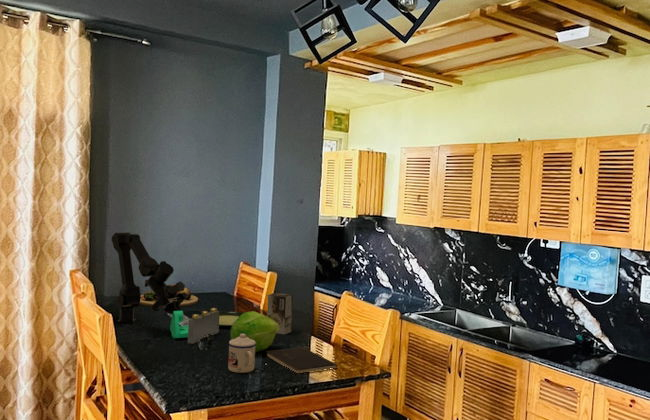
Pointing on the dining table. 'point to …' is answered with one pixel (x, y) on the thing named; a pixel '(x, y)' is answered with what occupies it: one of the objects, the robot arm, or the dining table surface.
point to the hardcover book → (300, 360)
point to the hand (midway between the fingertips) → (182, 318)
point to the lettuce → (255, 329)
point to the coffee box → (280, 311)
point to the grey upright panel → (203, 325)
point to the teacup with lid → (241, 354)
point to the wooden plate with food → (190, 300)
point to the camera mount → (174, 326)
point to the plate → (228, 318)
